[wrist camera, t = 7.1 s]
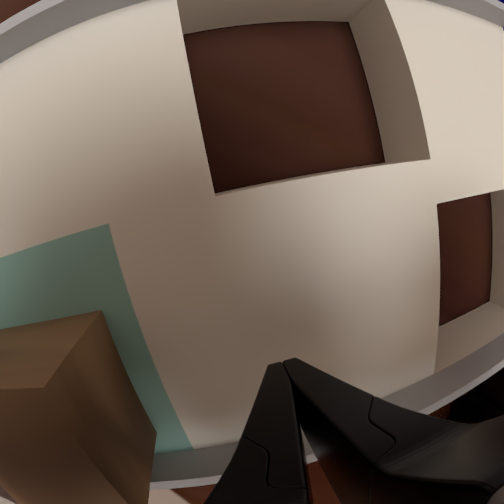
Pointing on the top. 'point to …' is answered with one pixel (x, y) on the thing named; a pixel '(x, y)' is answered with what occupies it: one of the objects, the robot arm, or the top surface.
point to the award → (6, 497)
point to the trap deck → (247, 212)
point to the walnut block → (71, 416)
